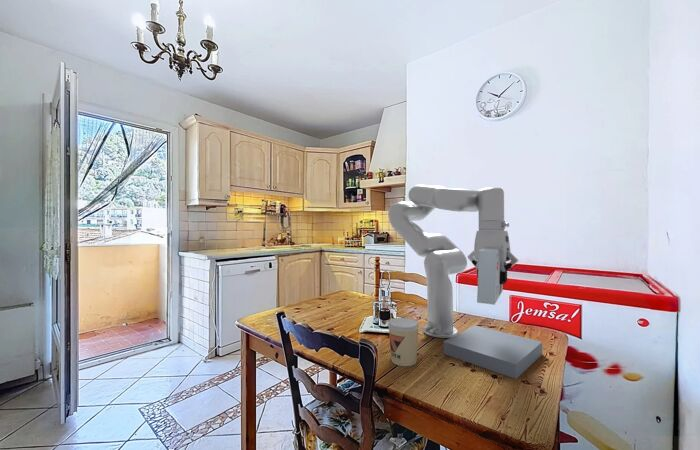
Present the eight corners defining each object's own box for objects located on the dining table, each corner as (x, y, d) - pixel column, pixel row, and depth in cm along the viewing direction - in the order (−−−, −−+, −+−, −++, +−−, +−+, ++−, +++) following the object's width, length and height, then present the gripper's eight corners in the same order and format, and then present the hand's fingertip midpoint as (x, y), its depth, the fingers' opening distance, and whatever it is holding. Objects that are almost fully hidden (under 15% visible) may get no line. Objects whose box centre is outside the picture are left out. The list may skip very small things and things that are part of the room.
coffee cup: (383, 357, 97) (382, 320, 97) (407, 351, 101) (407, 315, 101) (399, 370, 89) (398, 329, 88) (425, 363, 92) (424, 324, 92)
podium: (516, 379, 83) (516, 364, 82) (443, 353, 99) (443, 341, 99) (542, 354, 97) (542, 341, 97) (475, 335, 114) (475, 325, 114)
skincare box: (497, 305, 88) (496, 251, 88) (476, 303, 91) (476, 250, 90) (504, 290, 106) (504, 245, 105) (487, 289, 108) (487, 244, 108)
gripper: (524, 226, 94) (525, 284, 94) (470, 226, 107) (471, 277, 107) (515, 226, 89) (516, 288, 89) (460, 226, 102) (460, 280, 102)
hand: (491, 281), depth 98 cm, fingers closed on skincare box, 6 cm apart
